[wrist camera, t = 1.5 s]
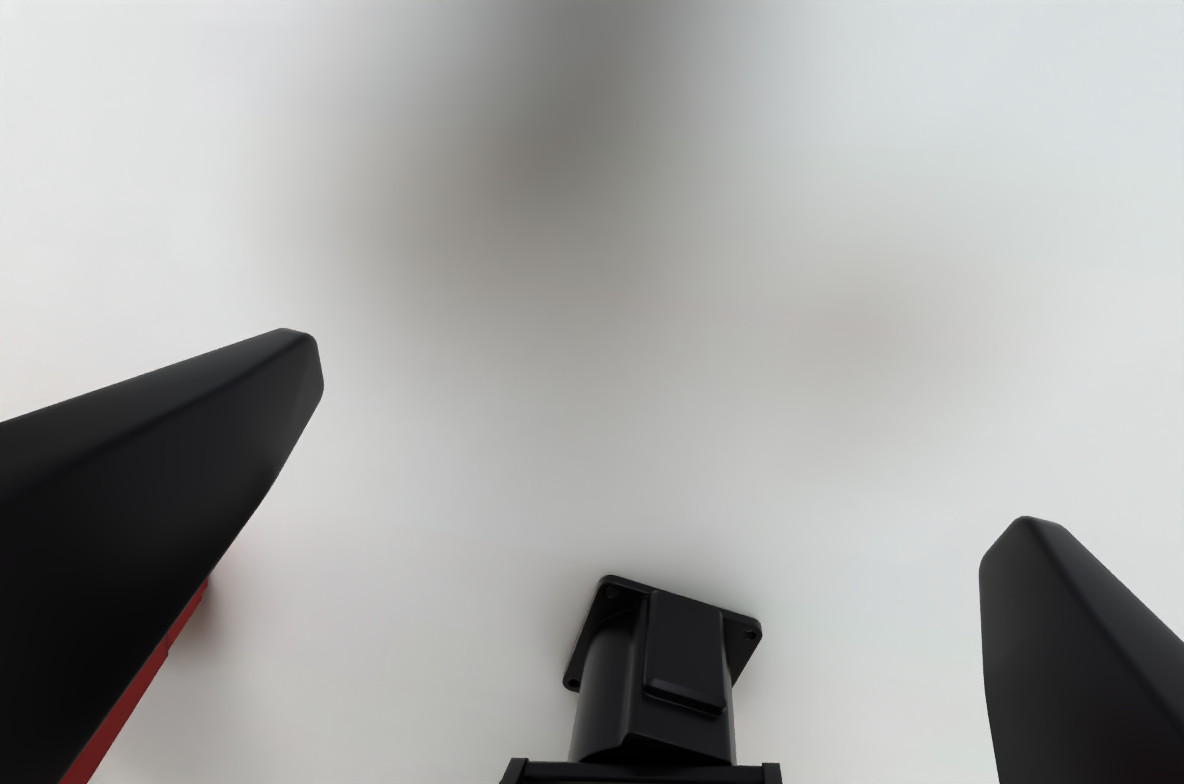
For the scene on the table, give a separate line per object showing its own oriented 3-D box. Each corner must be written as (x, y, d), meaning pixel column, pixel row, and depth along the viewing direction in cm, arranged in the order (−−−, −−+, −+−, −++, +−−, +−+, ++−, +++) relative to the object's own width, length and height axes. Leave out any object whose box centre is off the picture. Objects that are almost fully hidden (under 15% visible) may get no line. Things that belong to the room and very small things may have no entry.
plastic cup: (15, 580, 30) (-355, 867, 19) (34, 407, 25) (-452, 665, 14) (234, 681, 31) (0, 1001, 20) (293, 535, 26) (25, 858, 16)
